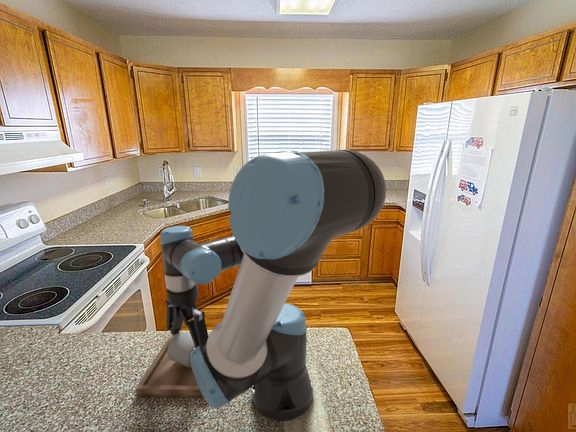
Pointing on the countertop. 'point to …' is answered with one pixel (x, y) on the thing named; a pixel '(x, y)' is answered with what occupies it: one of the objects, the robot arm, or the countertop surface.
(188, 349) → the ceramic mug
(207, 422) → the countertop surface
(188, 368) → the walnut tray
